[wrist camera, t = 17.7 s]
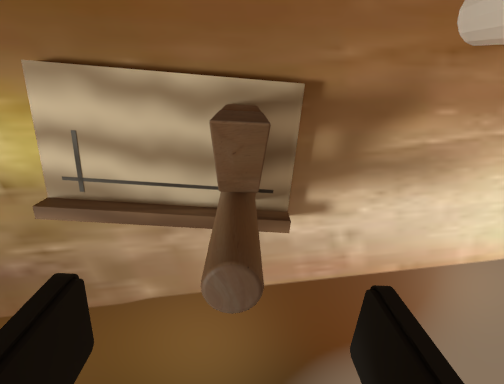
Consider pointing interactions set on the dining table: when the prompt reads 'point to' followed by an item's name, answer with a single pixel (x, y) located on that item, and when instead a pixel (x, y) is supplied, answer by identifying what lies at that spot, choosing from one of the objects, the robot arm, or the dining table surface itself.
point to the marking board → (151, 144)
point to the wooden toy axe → (236, 209)
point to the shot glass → (482, 22)
